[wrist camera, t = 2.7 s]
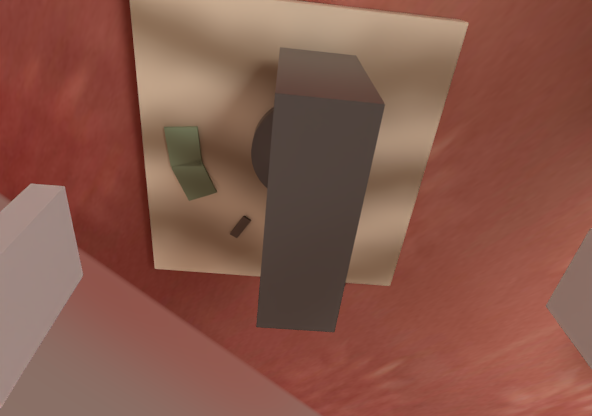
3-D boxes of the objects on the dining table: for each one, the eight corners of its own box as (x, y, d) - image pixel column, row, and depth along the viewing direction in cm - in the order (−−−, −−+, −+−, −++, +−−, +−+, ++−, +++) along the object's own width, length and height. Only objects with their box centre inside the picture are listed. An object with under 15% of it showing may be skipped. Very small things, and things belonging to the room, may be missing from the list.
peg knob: (258, 40, 23) (241, 89, 15) (374, 53, 23) (417, 107, 15) (246, 257, 31) (231, 364, 23) (333, 263, 31) (347, 370, 23)
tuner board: (135, -19, 22) (126, -17, 21) (461, 19, 24) (470, 23, 22) (158, 258, 32) (153, 270, 31) (387, 275, 34) (390, 287, 32)
